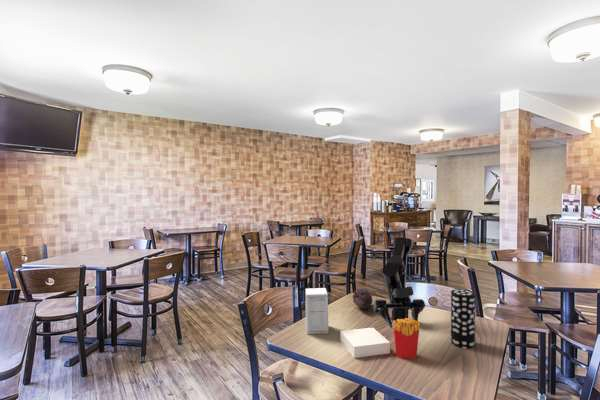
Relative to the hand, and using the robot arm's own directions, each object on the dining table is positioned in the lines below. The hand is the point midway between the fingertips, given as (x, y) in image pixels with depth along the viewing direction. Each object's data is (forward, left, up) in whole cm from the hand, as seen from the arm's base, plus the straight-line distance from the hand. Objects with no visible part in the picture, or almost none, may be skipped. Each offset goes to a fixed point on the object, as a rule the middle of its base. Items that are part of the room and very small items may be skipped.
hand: (404, 327), depth 121 cm
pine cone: (-4, -47, -9) cm, 48 cm away
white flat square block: (+12, -8, -9) cm, 17 cm away
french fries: (0, +2, -9) cm, 10 cm away
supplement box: (+25, -28, -9) cm, 39 cm away
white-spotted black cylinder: (-26, -1, -9) cm, 27 cm away
